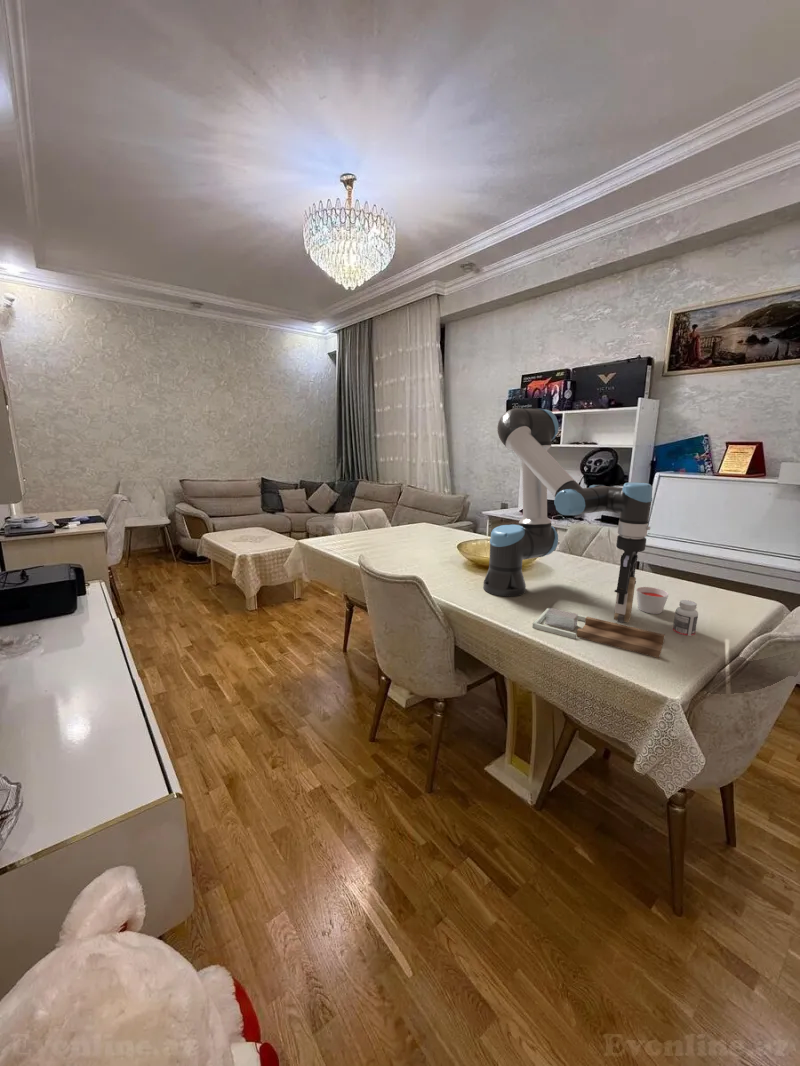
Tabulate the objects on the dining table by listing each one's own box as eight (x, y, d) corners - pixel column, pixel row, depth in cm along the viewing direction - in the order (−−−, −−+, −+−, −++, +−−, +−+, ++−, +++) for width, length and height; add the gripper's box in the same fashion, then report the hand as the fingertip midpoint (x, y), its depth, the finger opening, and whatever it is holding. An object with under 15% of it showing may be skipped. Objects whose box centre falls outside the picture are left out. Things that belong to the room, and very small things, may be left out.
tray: (532, 630, 126) (532, 623, 125) (547, 614, 137) (547, 607, 136) (574, 642, 119) (575, 634, 119) (587, 624, 130) (587, 616, 130)
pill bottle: (685, 629, 126) (690, 598, 124) (699, 638, 121) (704, 606, 119) (668, 630, 126) (672, 599, 124) (680, 638, 121) (685, 606, 118)
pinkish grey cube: (558, 628, 126) (560, 615, 125) (562, 623, 129) (564, 610, 128) (573, 631, 124) (574, 618, 123) (576, 626, 127) (578, 614, 126)
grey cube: (545, 624, 128) (546, 612, 127) (549, 620, 132) (550, 607, 131) (558, 628, 126) (560, 615, 125) (562, 623, 129) (563, 610, 128)
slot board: (576, 639, 120) (577, 630, 120) (585, 625, 129) (586, 616, 128) (658, 661, 109) (660, 651, 108) (663, 644, 117) (664, 634, 117)
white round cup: (656, 604, 144) (659, 587, 143) (671, 616, 136) (674, 597, 134) (629, 604, 145) (631, 586, 143) (642, 615, 136) (644, 596, 135)
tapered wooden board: (612, 623, 130) (617, 580, 127) (616, 616, 136) (622, 573, 132) (627, 627, 128) (632, 582, 125) (631, 619, 133) (636, 576, 130)
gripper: (641, 545, 115) (630, 623, 120) (651, 530, 132) (641, 600, 137) (610, 541, 119) (601, 617, 125) (624, 527, 136) (616, 594, 141)
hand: (622, 608), depth 131 cm, fingers open, 8 cm apart
